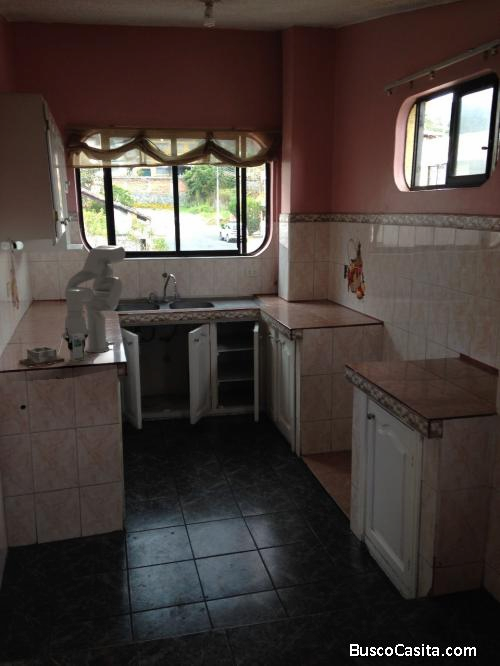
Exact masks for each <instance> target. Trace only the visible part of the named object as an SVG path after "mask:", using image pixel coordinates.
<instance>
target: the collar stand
mask: <svg viewBox="0 0 500 666" xmlns="http://www.w3.org/2000/svg"><path fill="white" fill-rule="evenodd" d="M26 357H27V358H23V359H19V360H18V361H19V364H21V365H23V364H24V366H26V365H27V366H26V367H28V366H36V367H38V366H37V365H41V366H44V365H43V364H47V365H49V364H48V363H52V364H56V363H55V362H58V363H62V362H61V361H63V362H65V357H63V356H59V355H58V354H57V349H55V348H52V347H50V346H47V345H44V346H39V347H34V348H33V347H32V348H27V349H26Z"/></svg>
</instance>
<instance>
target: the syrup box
mask: <svg viewBox="0 0 500 666" xmlns="http://www.w3.org/2000/svg"><path fill="white" fill-rule="evenodd" d="M71 342H72V344H73V350H69V359H71V360H70V361H72V360H73V361H72V362H74V361H75V362H78V361H77V360H83V361H85V360H84V359H86V358H85V348H84V337H83V333H77V334H73V335H72V341H71Z"/></svg>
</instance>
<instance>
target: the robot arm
mask: <svg viewBox="0 0 500 666" xmlns="http://www.w3.org/2000/svg"><path fill="white" fill-rule="evenodd" d="M125 257H126V249H125V248H124V247H123V246H121V245H105V244H104V245H99V246H96V247H93V248H91V249H90V250H89V252H88V254H87V257H86V259H85V262H84V264H83V268H82V269H80V270H79V271H78V272H77V273H75V274H74V275H73V276H72V277H70V279H69V280H68V282H67V285H66V287H65V291H64V297H65V299H66V312H67V316H66V317H65V320H64V321H65V322H64V332H63V333H62V334H61V338H63V339H64V340H65V341H66V342H67V349H68V350H69V351H70V350H73V344H72V342H71V341H72V335H73V334H77V333H83V337H84V349H85V352H88V353H92V352H98V353H105V352H104V351H106V352H108V351H110V347H109V346H113V345H114V346H115V342H114V341H107V332H106V331H107V328H106V317H105V314H104V313H103V312H114V311H115V310H116V309H117V308H118V305H119V300H120V298H121V296H122V295H121V294H122V291H123V281H122V279H121V278H119V277H117V276H113V274H114V270H113V267H112V266H111V265H114V264H118V263H120V262H122V261H123V260H125ZM91 280H93V284H92V288H91V287H84V286H83V287H82V286H80V285H81V284H83V283H85V282H88V281H91ZM83 303H84V306H85V310H84V306H83ZM85 313H86V317H87V321H86V319H85V315H84V314H85ZM86 322H87V323H86ZM86 324H87V325H86ZM86 340H87V343H88V344H87V345H88V346H87V347H86Z"/></svg>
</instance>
